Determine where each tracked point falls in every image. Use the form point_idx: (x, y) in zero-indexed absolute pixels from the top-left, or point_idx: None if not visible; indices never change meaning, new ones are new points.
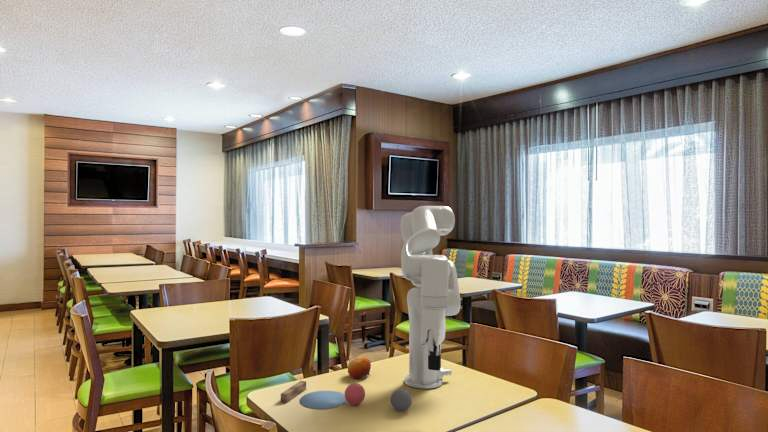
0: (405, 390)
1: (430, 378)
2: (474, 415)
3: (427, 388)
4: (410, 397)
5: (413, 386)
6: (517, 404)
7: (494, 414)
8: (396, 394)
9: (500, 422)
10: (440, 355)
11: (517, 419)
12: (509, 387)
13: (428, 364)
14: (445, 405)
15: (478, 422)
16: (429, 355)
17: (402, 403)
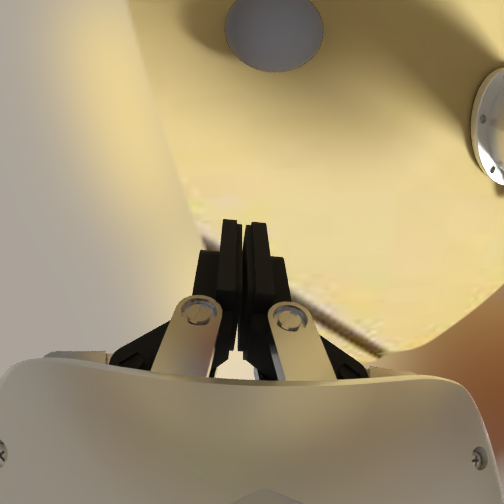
0: (283, 44)
1: (499, 153)
2: None
3: (471, 132)
4: (268, 68)
5: (480, 88)
6: (354, 336)
7: None
8: (242, 9)
9: None
10: (244, 355)
11: None
12: (444, 320)
13: (221, 237)
14: (346, 184)
15: None
16: (217, 295)
17: (227, 41)
